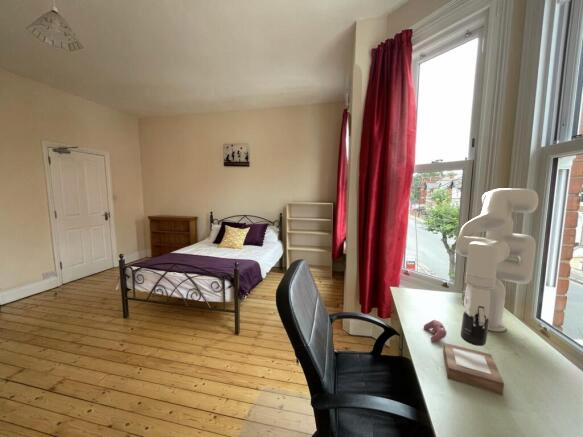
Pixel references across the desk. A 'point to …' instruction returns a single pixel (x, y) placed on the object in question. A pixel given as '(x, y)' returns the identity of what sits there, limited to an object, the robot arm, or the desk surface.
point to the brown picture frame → (472, 368)
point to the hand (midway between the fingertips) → (473, 331)
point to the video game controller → (436, 330)
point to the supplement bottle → (466, 330)
